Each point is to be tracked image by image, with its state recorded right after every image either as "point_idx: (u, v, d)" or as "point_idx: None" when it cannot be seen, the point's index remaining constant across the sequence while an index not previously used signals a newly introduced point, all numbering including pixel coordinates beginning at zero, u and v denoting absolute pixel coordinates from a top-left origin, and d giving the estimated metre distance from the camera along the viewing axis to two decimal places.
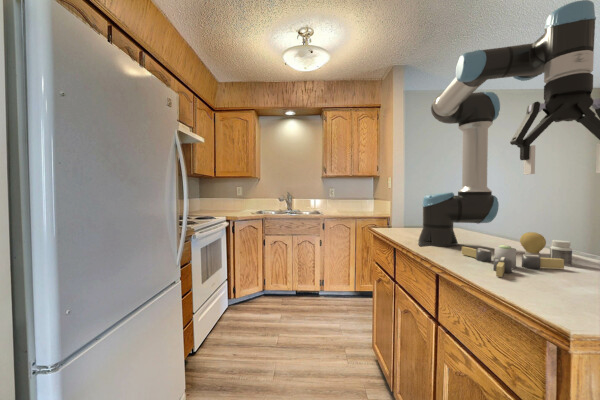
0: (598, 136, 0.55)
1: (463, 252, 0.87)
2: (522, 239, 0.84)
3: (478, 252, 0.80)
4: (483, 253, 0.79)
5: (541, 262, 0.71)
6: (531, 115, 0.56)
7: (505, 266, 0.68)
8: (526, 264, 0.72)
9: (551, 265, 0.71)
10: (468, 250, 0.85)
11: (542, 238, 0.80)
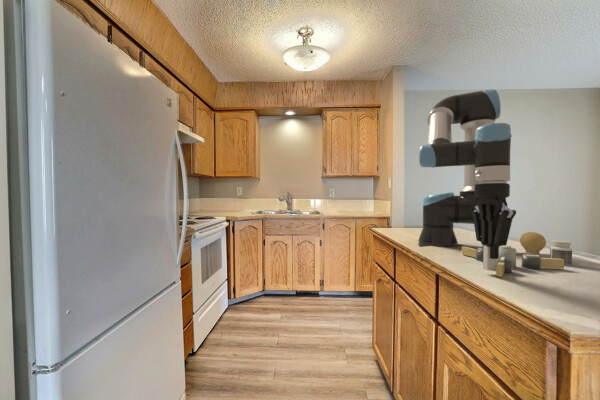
0: None
1: (463, 252, 0.87)
2: (522, 239, 0.84)
3: (478, 252, 0.80)
4: None
5: (541, 262, 0.71)
6: (473, 218, 0.71)
7: (505, 266, 0.68)
8: (526, 264, 0.72)
9: (551, 265, 0.71)
10: (468, 250, 0.85)
11: (542, 238, 0.80)
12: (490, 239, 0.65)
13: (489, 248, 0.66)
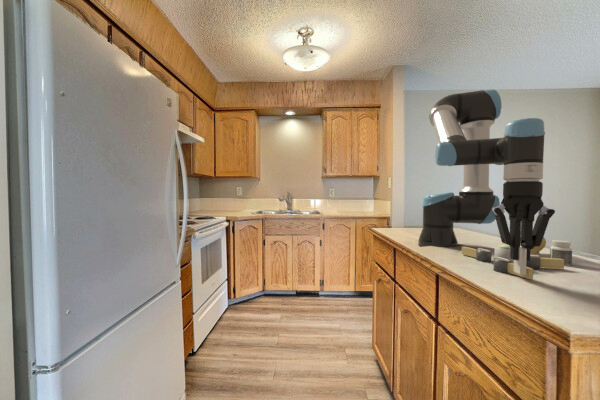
0: (522, 238, 0.64)
1: (463, 252, 0.87)
2: None
3: (478, 252, 0.80)
4: (483, 253, 0.79)
5: (541, 262, 0.71)
6: (501, 220, 0.63)
7: None
8: (526, 264, 0.72)
9: (551, 265, 0.71)
10: (468, 250, 0.85)
11: None
12: (530, 240, 0.62)
13: None
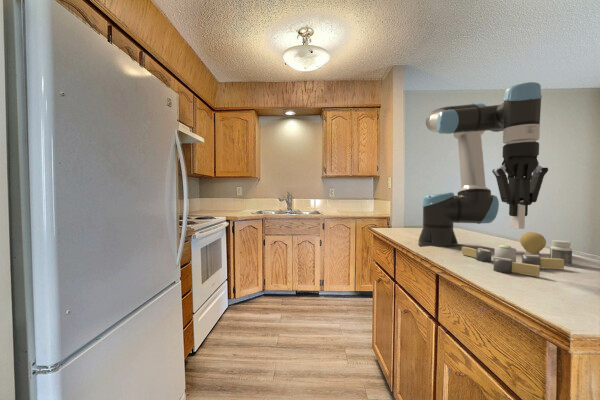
0: (519, 196, 0.69)
1: (463, 252, 0.87)
2: (522, 239, 0.84)
3: (478, 252, 0.80)
4: (483, 253, 0.79)
5: (541, 262, 0.71)
6: (503, 179, 0.68)
7: None
8: None
9: (551, 265, 0.71)
10: (468, 250, 0.85)
11: (542, 238, 0.80)
12: (528, 197, 0.67)
13: None
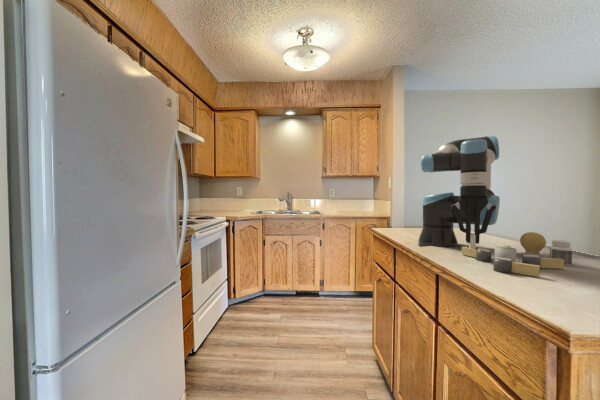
0: (474, 227, 0.86)
1: (463, 252, 0.87)
2: (522, 239, 0.84)
3: (478, 252, 0.80)
4: (483, 253, 0.79)
5: (541, 262, 0.71)
6: (456, 213, 0.87)
7: None
8: None
9: (551, 265, 0.71)
10: (468, 250, 0.85)
11: (542, 238, 0.80)
12: (478, 228, 0.84)
13: None
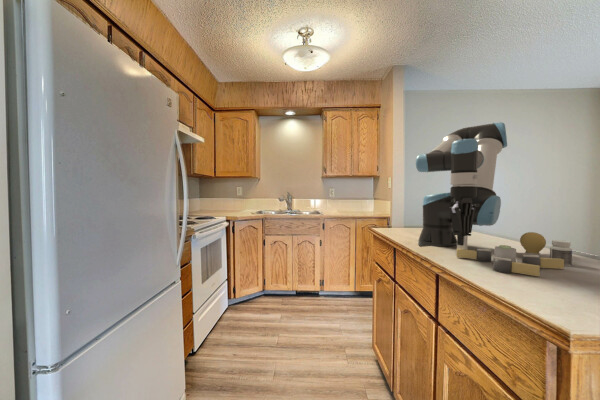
0: None
1: (459, 255, 0.83)
2: (522, 239, 0.84)
3: (484, 253, 0.79)
4: (489, 253, 0.78)
5: (541, 262, 0.71)
6: (459, 216, 0.81)
7: None
8: None
9: (551, 265, 0.71)
10: (465, 252, 0.82)
11: (542, 238, 0.80)
12: (468, 229, 0.84)
13: None
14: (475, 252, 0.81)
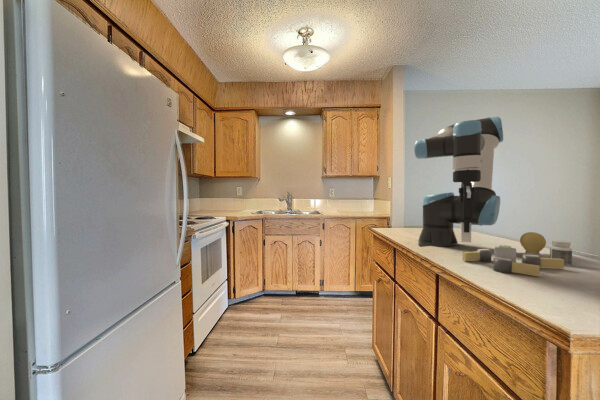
0: None
1: (467, 258, 0.79)
2: (522, 239, 0.84)
3: (488, 253, 0.78)
4: (491, 253, 0.79)
5: (541, 262, 0.71)
6: (473, 201, 0.76)
7: None
8: None
9: (551, 265, 0.71)
10: (472, 255, 0.79)
11: (542, 238, 0.80)
12: None
13: None
14: (479, 253, 0.79)
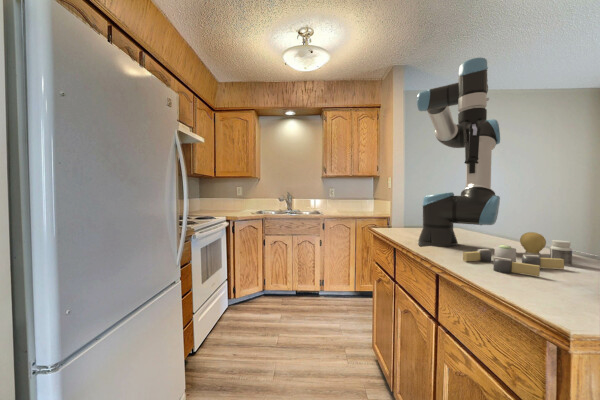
0: None
1: (468, 258, 0.78)
2: (522, 239, 0.84)
3: (488, 253, 0.78)
4: (491, 253, 0.79)
5: (541, 262, 0.71)
6: (479, 138, 0.75)
7: None
8: None
9: (551, 265, 0.71)
10: (472, 255, 0.79)
11: (542, 238, 0.80)
12: None
13: None
14: (479, 253, 0.79)
